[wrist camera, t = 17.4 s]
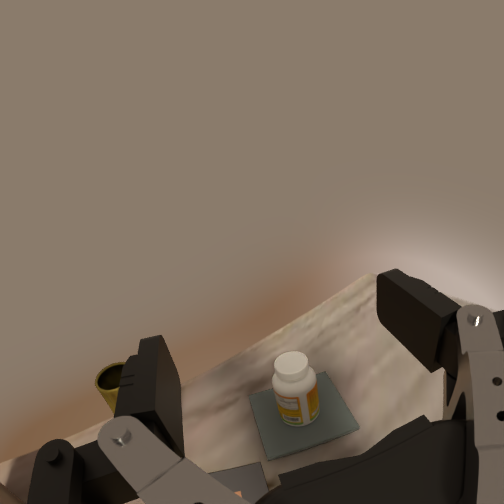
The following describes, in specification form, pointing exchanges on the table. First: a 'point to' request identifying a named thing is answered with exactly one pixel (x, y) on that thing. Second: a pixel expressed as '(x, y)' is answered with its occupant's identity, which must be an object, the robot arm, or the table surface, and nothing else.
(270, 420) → the slate pad
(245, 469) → the dark gray tile
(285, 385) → the supplement bottle
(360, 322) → the table surface
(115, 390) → the vase
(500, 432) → the robot arm
